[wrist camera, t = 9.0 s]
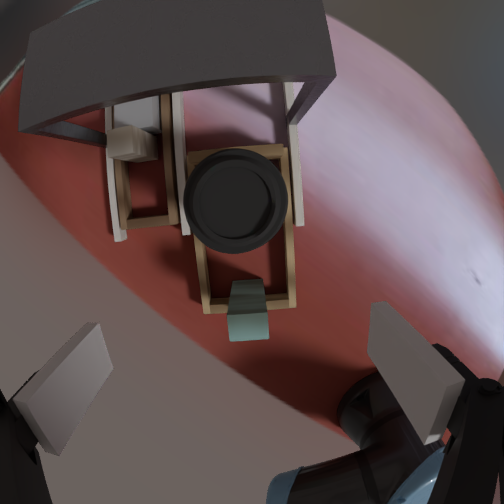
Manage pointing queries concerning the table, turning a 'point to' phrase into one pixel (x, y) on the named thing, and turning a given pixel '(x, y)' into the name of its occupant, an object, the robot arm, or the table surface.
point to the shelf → (168, 56)
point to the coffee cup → (235, 200)
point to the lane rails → (182, 163)
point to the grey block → (140, 114)
